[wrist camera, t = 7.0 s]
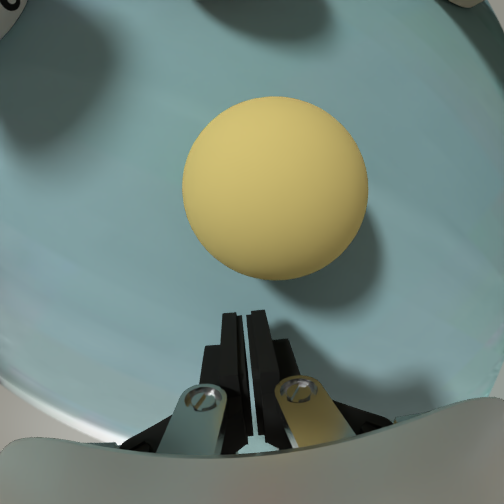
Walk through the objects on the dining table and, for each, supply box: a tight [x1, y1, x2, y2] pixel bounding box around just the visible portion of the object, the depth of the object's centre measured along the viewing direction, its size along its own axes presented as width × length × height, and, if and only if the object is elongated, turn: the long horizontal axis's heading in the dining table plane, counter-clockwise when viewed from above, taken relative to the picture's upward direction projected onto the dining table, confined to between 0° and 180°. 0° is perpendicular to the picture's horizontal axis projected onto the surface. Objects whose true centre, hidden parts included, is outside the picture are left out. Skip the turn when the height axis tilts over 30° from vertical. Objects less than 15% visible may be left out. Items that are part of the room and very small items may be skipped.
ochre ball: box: [182, 97, 368, 280], centre depth 8 cm, size 6×6×6 cm
